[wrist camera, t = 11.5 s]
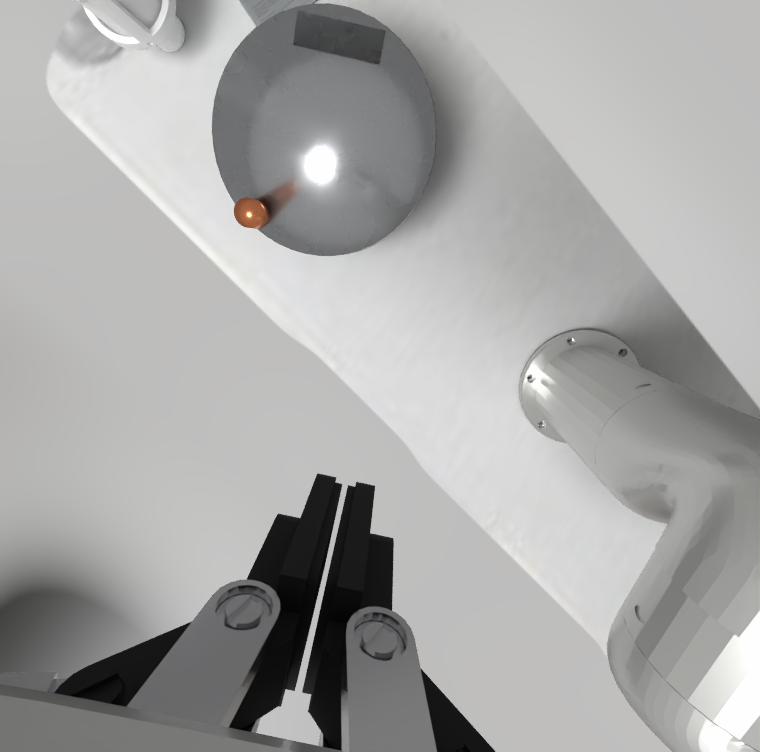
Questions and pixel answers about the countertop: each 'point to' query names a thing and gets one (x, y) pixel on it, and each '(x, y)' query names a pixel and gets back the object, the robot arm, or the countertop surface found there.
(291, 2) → the supplement box
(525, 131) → the countertop surface
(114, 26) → the white caged cylinder
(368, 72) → the lid
